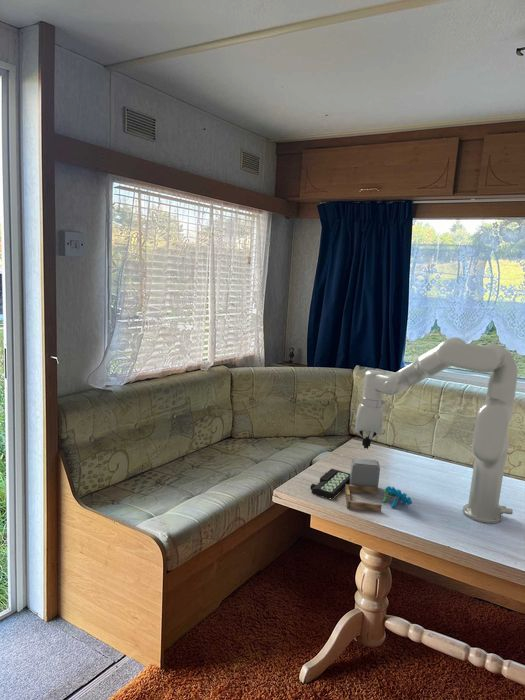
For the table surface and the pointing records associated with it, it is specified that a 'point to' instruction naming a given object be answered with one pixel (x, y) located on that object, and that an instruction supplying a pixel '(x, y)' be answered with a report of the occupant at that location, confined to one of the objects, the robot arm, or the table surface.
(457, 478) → the table surface
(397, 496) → the gear
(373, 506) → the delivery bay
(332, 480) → the digital display
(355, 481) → the box
